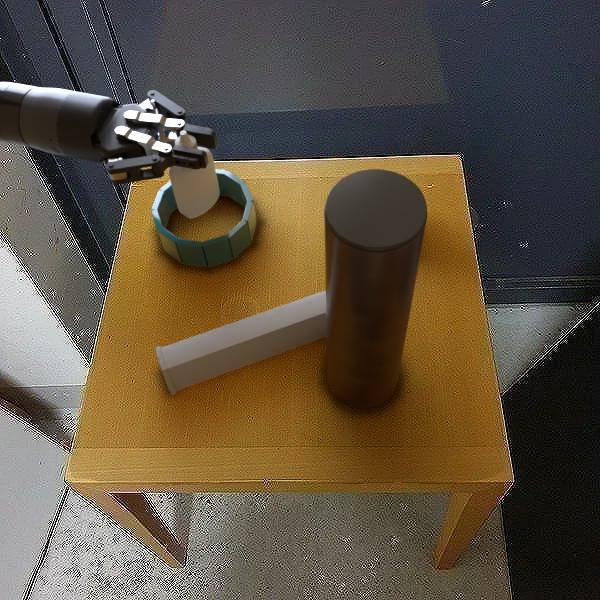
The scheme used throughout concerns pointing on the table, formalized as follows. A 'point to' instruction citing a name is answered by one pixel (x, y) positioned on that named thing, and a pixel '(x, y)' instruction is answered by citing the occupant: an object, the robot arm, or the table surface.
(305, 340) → the tube
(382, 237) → the stand
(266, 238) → the table surface
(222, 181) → the teal segmented ring
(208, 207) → the eye dropper bottle
